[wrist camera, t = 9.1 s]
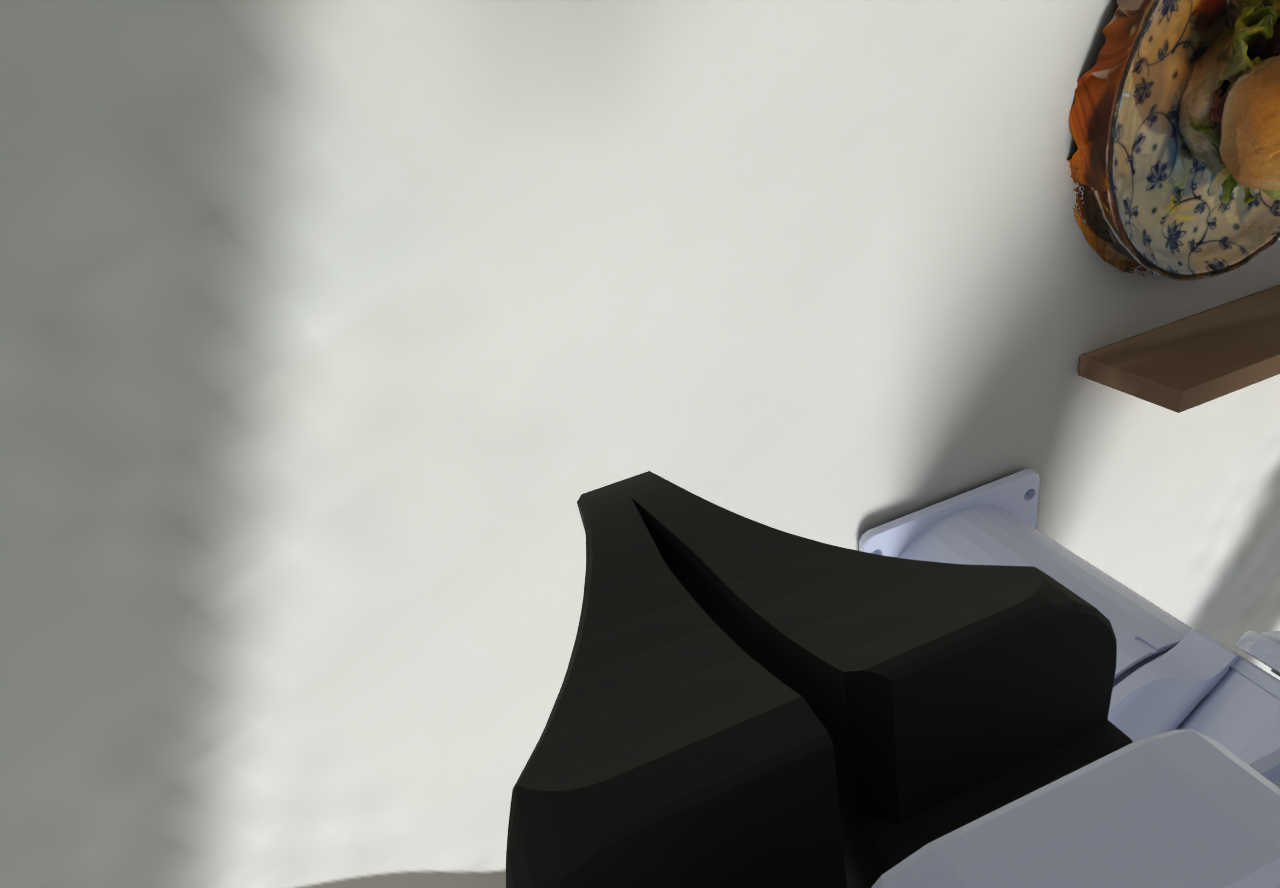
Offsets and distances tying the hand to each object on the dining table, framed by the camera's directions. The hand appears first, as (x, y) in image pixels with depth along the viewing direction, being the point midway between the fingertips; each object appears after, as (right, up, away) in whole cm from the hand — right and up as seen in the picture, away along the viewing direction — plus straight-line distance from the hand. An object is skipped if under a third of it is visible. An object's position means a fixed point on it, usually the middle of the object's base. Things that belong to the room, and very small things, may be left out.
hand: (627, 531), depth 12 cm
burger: (+19, +13, +12) cm, 27 cm away
